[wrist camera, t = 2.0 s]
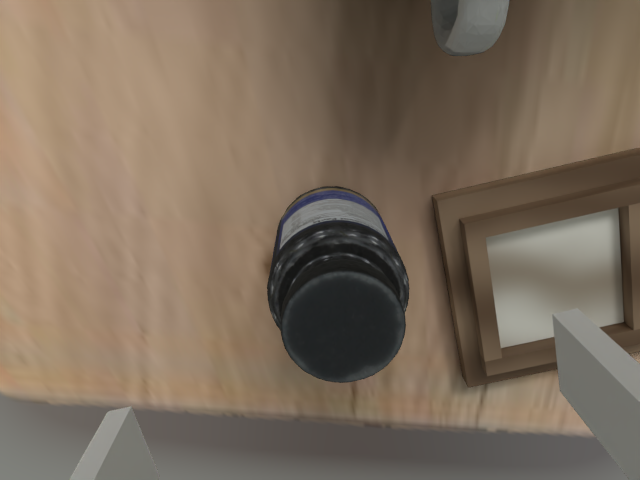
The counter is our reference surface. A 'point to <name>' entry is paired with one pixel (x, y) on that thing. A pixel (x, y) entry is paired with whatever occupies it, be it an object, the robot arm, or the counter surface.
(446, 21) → the coffee mug
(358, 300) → the pill bottle
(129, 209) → the counter surface
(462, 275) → the divided wooden tray
